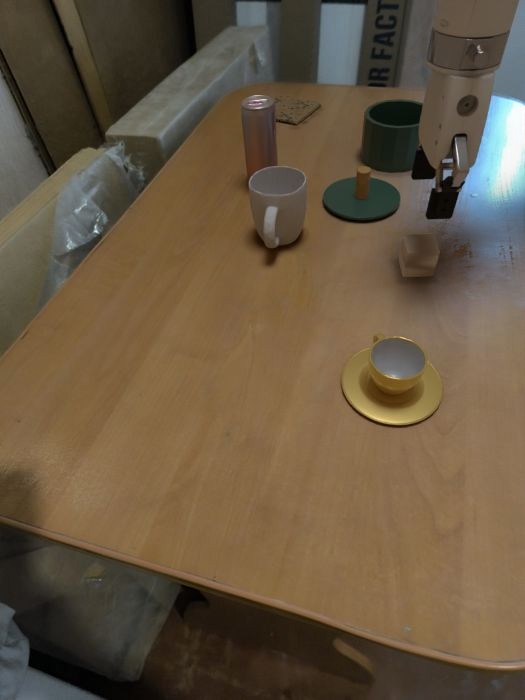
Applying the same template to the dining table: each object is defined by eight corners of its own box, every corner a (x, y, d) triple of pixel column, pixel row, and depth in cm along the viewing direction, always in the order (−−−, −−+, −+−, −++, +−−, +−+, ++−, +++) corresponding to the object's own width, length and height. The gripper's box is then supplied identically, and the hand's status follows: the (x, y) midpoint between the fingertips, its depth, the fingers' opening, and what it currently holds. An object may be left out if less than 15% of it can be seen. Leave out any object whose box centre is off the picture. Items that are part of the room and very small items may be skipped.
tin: (418, 140, 96) (426, 97, 89) (430, 170, 87) (440, 125, 81) (357, 144, 97) (361, 101, 90) (364, 173, 88) (369, 129, 82)
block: (427, 257, 71) (433, 233, 67) (433, 276, 68) (440, 252, 64) (397, 258, 71) (402, 234, 68) (402, 277, 68) (407, 253, 65)
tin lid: (393, 180, 86) (398, 148, 81) (405, 221, 77) (412, 188, 73) (320, 183, 87) (321, 152, 82) (325, 224, 78) (326, 192, 74)
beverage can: (248, 176, 91) (241, 95, 79) (278, 174, 90) (275, 93, 79) (247, 192, 87) (238, 109, 76) (278, 190, 86) (274, 107, 75)
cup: (462, 409, 52) (475, 381, 48) (366, 439, 51) (371, 413, 47) (411, 337, 60) (419, 308, 56) (326, 361, 59) (328, 332, 54)
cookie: (297, 125, 104) (296, 121, 103) (253, 116, 109) (252, 112, 108) (321, 105, 110) (322, 101, 110) (279, 97, 115) (279, 93, 114)
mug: (259, 218, 81) (255, 164, 73) (309, 221, 79) (310, 166, 72) (243, 263, 73) (236, 207, 65) (298, 267, 71) (298, 211, 64)
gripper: (532, 75, 41) (477, 234, 54) (479, 22, 53) (443, 164, 66) (448, 80, 42) (413, 236, 55) (413, 26, 53) (391, 166, 66)
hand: (429, 197), depth 60 cm, fingers open, 9 cm apart
